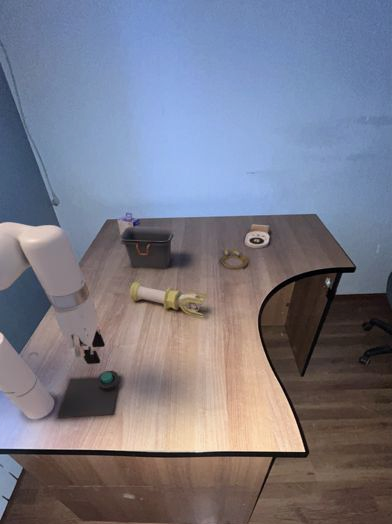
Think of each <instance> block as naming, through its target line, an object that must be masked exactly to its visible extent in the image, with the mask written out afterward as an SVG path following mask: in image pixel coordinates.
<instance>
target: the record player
mask: <svg viewBox="0 0 392 524" xmlns="http://www.w3.org/2000/svg"><path fill="white" fill-rule="evenodd" d="M269 231H270V226H269V225H264V224H251V226H250V230H249V232H248V233H246V235H245V237H244V244H245V246H247V247H248V248H252V249H263V248H266V247H267V246H268V245H269V243H270V235H269Z"/></svg>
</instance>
